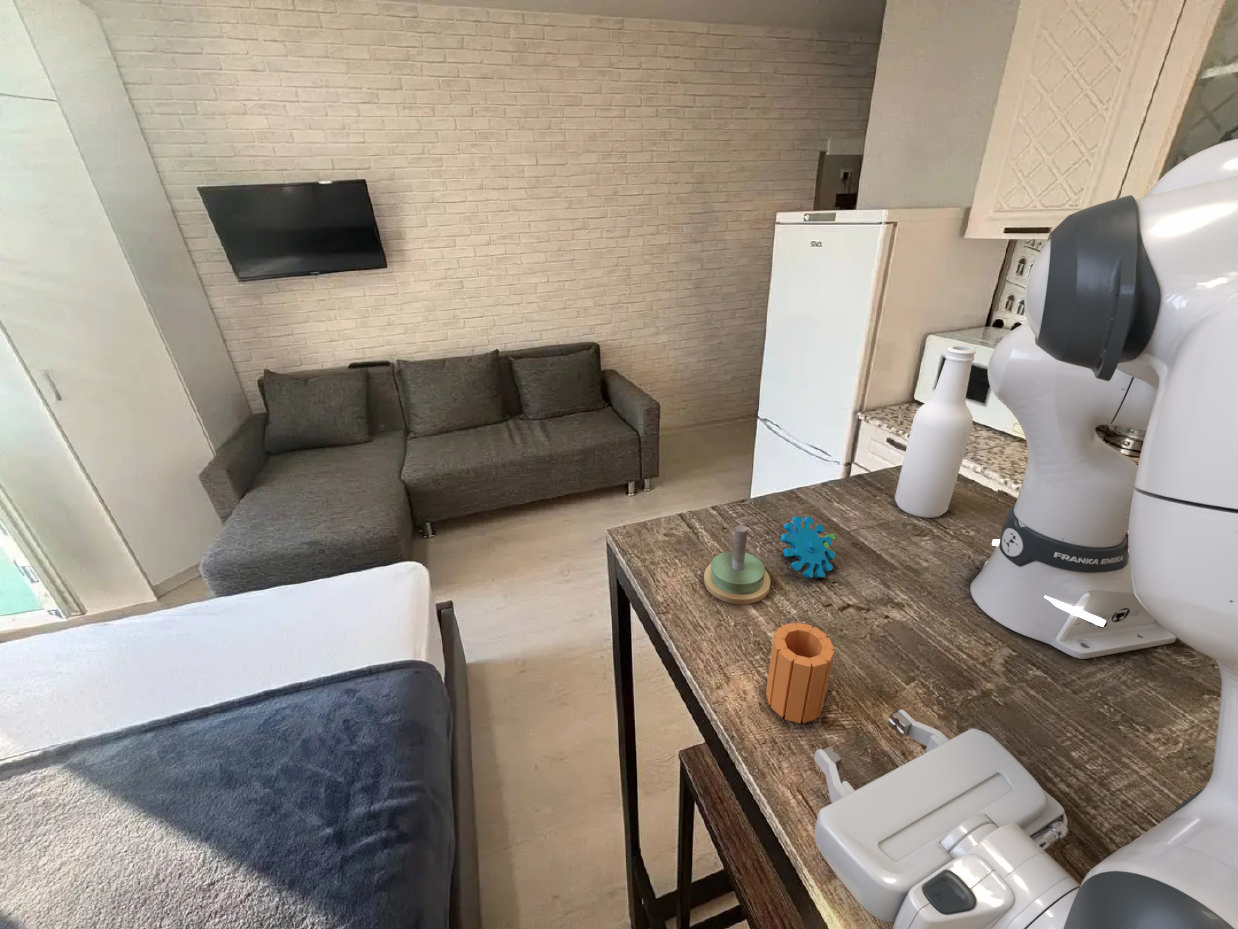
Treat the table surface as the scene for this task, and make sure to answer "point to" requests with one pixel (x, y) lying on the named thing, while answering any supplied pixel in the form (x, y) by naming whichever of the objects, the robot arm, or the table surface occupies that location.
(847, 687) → the table surface
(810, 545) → the gear
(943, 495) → the alcohol
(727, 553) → the ring stack
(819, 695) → the orange grooved hollow cylinder
